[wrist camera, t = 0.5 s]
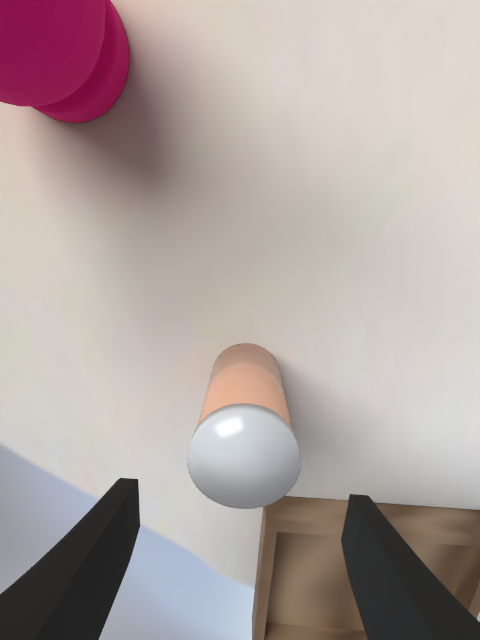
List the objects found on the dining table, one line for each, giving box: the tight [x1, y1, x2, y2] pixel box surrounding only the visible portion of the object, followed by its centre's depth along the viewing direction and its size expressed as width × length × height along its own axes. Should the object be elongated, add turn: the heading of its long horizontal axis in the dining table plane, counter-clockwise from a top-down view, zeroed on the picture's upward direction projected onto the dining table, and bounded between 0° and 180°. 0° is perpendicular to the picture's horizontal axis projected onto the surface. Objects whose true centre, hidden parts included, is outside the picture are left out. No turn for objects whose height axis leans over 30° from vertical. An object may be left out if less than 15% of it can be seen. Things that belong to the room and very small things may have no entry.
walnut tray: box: [252, 496, 480, 640], centre depth 24 cm, size 16×13×2 cm
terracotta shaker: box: [187, 344, 301, 509], centre depth 17 cm, size 5×5×8 cm
